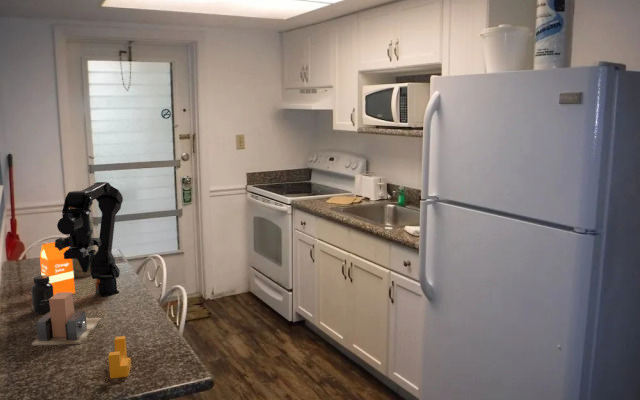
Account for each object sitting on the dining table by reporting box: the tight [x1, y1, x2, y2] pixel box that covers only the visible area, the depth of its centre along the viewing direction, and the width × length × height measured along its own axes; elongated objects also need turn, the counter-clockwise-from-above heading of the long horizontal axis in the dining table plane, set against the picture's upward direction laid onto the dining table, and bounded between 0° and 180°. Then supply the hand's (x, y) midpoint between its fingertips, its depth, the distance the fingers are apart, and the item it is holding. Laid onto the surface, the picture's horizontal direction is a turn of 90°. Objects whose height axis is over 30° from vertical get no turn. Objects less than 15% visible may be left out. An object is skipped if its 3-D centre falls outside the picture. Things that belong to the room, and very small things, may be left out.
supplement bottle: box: [30, 275, 54, 314], centre depth 192 cm, size 7×7×12 cm
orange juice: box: [39, 241, 76, 295], centre depth 209 cm, size 8×9×20 cm
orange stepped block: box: [108, 335, 132, 379], centre depth 149 cm, size 12×4×6 cm, turn 12°
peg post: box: [49, 292, 75, 337], centre depth 170 cm, size 6×4×12 cm
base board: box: [31, 317, 103, 346], centre depth 174 cm, size 19×14×1 cm
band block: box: [36, 310, 87, 341], centre depth 169 cm, size 8×13×6 cm, turn 93°
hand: (85, 272), depth 192 cm, fingers closed
